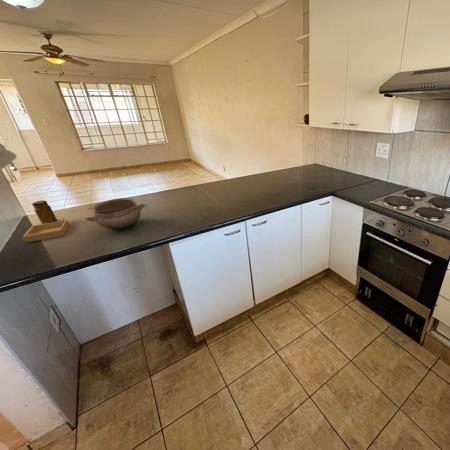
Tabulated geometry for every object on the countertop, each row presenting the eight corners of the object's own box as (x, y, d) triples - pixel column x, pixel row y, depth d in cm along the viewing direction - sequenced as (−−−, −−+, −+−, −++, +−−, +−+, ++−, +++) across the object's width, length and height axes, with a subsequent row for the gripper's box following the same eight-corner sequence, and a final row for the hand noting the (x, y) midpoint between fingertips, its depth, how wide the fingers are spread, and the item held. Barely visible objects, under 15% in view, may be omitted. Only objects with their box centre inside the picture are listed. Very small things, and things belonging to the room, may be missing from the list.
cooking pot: (97, 242, 112) (86, 218, 106) (89, 228, 123) (79, 206, 118) (155, 224, 128) (148, 202, 122) (143, 213, 139) (137, 193, 134)
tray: (26, 242, 112) (22, 236, 110) (35, 231, 121) (32, 225, 120) (63, 235, 117) (60, 229, 116) (69, 225, 127) (67, 219, 125)
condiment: (41, 223, 129) (29, 201, 124) (62, 218, 134) (52, 197, 129) (41, 227, 124) (29, 206, 119) (63, 222, 130) (52, 201, 124)
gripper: (-9, 138, 112) (21, 160, 124) (-54, 170, 102) (-17, 191, 114) (1, 141, 111) (30, 163, 123) (-44, 174, 101) (-7, 194, 113)
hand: (7, 177), depth 118 cm, fingers open, 8 cm apart
